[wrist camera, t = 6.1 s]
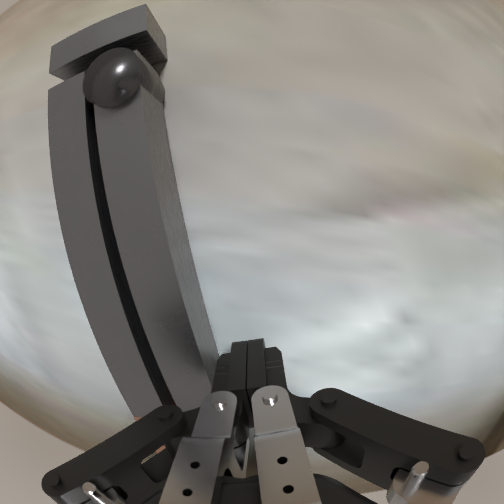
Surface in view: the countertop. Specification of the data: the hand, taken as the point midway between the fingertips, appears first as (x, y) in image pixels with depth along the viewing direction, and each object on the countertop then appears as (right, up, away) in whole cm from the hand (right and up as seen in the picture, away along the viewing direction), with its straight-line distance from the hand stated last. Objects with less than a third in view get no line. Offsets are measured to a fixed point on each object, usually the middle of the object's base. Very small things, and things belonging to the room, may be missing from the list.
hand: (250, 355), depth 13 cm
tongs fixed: (-5, +4, 0) cm, 7 cm away
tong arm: (-3, +3, 0) cm, 5 cm away
